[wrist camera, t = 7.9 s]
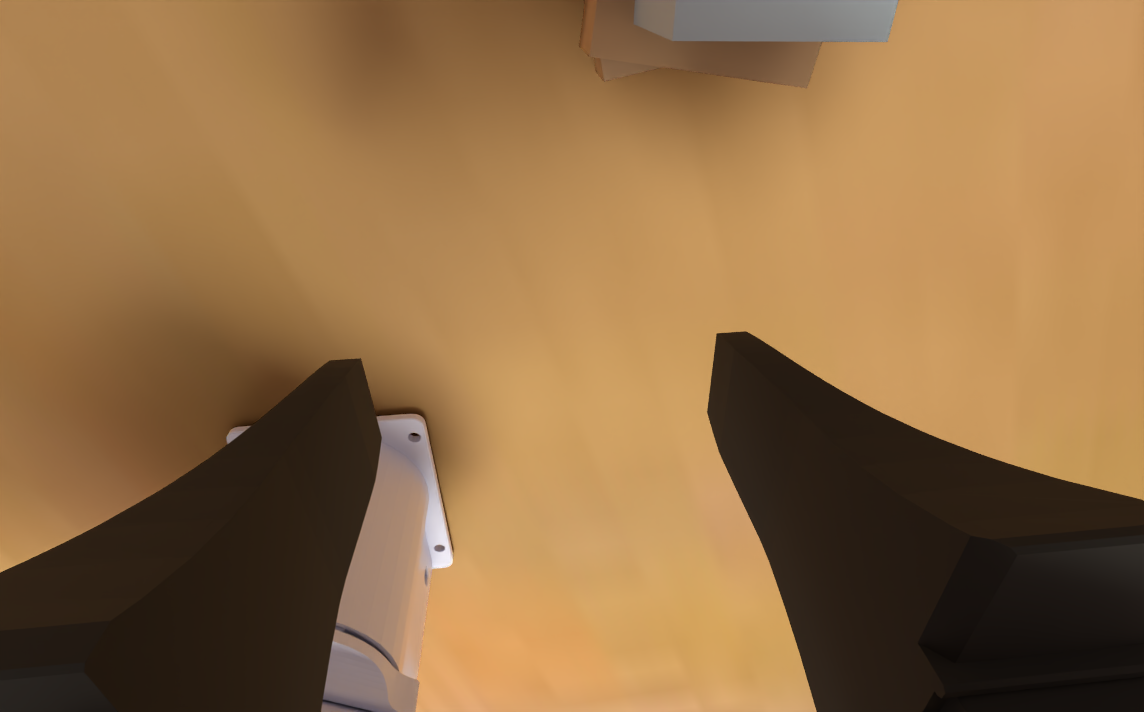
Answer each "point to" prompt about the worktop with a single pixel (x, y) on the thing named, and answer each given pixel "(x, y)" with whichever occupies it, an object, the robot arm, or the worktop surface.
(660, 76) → the worktop surface
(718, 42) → the slab top
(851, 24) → the gray cube
